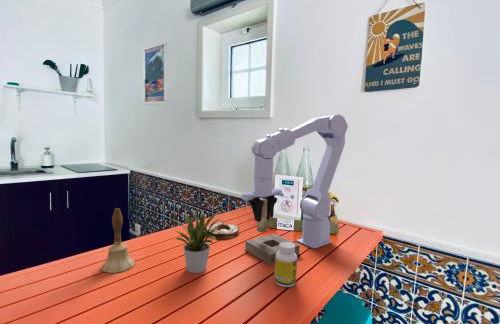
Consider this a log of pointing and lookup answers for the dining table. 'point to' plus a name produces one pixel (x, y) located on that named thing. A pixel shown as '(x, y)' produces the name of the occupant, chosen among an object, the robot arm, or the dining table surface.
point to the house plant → (197, 243)
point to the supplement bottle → (286, 265)
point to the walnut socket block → (267, 247)
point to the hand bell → (117, 249)
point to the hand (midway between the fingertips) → (262, 220)
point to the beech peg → (263, 218)
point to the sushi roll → (224, 230)
